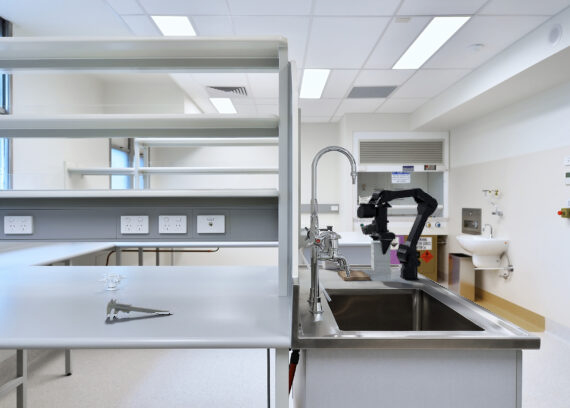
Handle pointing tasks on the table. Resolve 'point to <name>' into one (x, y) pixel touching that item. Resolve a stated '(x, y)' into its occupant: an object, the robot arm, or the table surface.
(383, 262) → the supplement box
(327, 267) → the soap dispenser
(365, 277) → the walnut coaster
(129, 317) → the table surface
